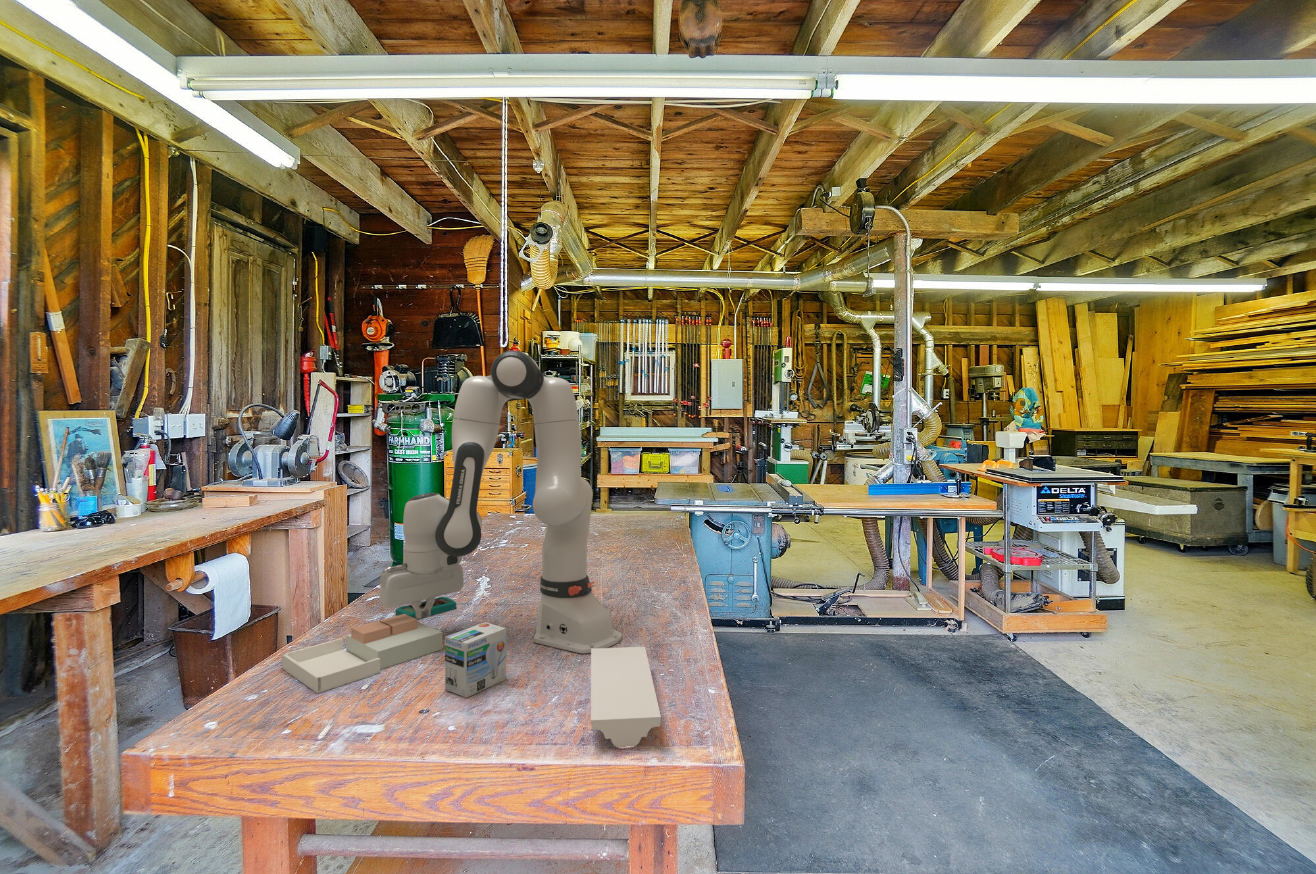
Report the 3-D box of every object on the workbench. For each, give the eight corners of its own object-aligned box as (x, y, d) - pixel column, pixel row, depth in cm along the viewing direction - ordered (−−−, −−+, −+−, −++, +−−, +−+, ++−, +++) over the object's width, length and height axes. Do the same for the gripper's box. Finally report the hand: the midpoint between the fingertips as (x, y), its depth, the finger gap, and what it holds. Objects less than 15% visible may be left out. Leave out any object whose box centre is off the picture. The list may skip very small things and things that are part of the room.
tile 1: (390, 636, 135) (390, 626, 135) (363, 644, 131) (363, 634, 131) (377, 630, 139) (377, 620, 139) (351, 637, 134) (351, 627, 134)
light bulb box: (466, 699, 114) (466, 643, 114) (443, 690, 118) (443, 636, 117) (507, 678, 123) (507, 627, 123) (485, 671, 127) (485, 621, 127)
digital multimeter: (458, 610, 168) (458, 599, 167) (408, 624, 156) (408, 613, 156) (443, 604, 172) (443, 594, 172) (394, 618, 160) (394, 607, 160)
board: (442, 649, 138) (442, 632, 138) (378, 670, 127) (378, 651, 127) (408, 633, 148) (408, 617, 148) (346, 652, 136) (346, 634, 136)
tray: (380, 672, 125) (380, 658, 125) (317, 693, 116) (317, 678, 116) (341, 650, 137) (341, 638, 137) (282, 668, 127) (281, 654, 127)
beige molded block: (590, 752, 97) (591, 720, 97) (591, 672, 127) (591, 648, 127) (660, 748, 98) (660, 716, 98) (644, 670, 128) (644, 646, 128)
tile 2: (417, 628, 140) (417, 619, 140) (392, 635, 136) (392, 626, 136) (404, 622, 144) (404, 613, 144) (379, 629, 139) (379, 620, 139)
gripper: (387, 571, 134) (387, 631, 135) (467, 555, 150) (467, 609, 151) (373, 566, 138) (374, 625, 139) (453, 551, 154) (453, 604, 155)
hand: (423, 617), depth 145 cm, fingers closed
